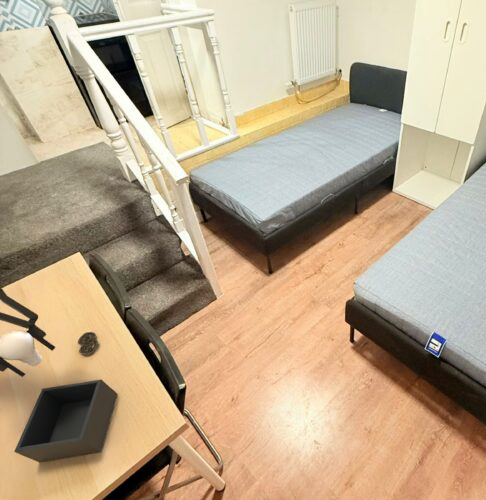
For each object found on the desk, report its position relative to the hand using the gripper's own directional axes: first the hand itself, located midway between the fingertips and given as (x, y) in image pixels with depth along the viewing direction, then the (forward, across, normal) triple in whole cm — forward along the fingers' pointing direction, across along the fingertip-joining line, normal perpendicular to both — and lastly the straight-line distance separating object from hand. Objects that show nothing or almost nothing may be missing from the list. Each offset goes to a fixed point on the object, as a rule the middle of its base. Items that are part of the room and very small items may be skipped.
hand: (39, 361), depth 73 cm
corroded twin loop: (+5, +11, +20) cm, 24 cm away
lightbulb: (0, 0, +5) cm, 5 cm away
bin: (+17, -5, +8) cm, 20 cm away
